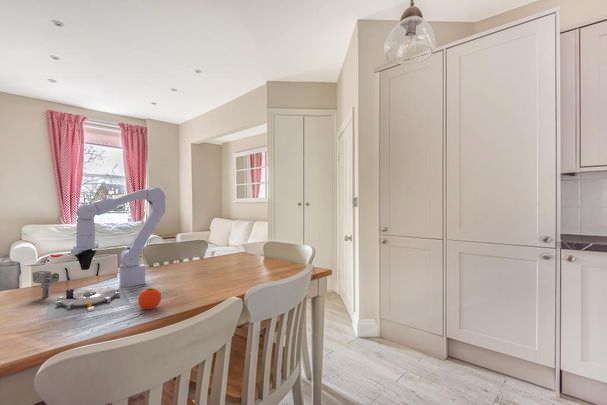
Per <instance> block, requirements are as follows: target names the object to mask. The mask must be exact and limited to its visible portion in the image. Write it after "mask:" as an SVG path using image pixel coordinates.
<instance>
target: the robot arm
mask: <svg viewBox="0 0 607 405" xmlns="http://www.w3.org/2000/svg"><path fill="white" fill-rule="evenodd" d="M166 199H167V198H166V195H165V192H164V191H163V190H162V189H161V187H150V188H147V189H146V188H145V189H139V190H136V191H133V192H130V193H127V194H125V195H124V194H123V195H121V196H119V197H115V198H113V197H111V196H108V197H107V196H103V197H102V199H99V200H96V201H93V202H92V201H89V202H88V204H82V205H80V206H79V207H78V208H76V213H75V214H76V216H77V219H76V222H77V223H76V240H75V241H76V244H75V245H74V246H73V247H72V248H71V249H70V255H73V256H74V257H76V259H77V260H78V263H79V267H80V269H81V270H82V271H87V270H90V268H91V265H92V262H93V258H94V256H95V255H96V254H97V250H95V249H99V248H100V247H99V246H100V244H99V243H98V242H97V243H95V240H96V233H95V232H96V227H95V226H96V223H95V217H96V216H101V215H104V214H106V213H110V212H113V211H116V210H117V208H118V206H121V205H124V204H127V203H131V202H134V201H137V200H142V201H143V200H145V201H147V203H148V204H149V206H150V209H151V212H149V215H148V216H147V217H146V219H145V221H144V223H143V224H142V226H141V227H140V229H139V230H138V232H137V233H136V235H135V236H134V238H133V239H132V241H131V242H130V243H129V244H128V245H127V247H126V248H125V249H123V250H122V251H121V252H120V254H119V260H120V261H121V263H120V264H119V287H122V288H124V287H125V288H126V287H128V288H129V287H133V286H134V287H135V286H139V285H144V284H146V265H145V264H144V263H143V264H140V260H141V255H142V253H143V250H144V247H145V245H146V243H147V242H148V241H149V238H150V237H151V236H152V234H153V232H154V231H155V229H156V228H157V225H158V224H159V222H160V220H162V218H163V216H164V214H165V212H166Z"/></svg>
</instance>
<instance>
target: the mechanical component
mask: <svg viewBox="0 0 607 405" xmlns="http://www.w3.org/2000/svg"><path fill="white" fill-rule="evenodd" d="M31 275H32V282H33V283H34V284H41V285H40V289H42V298H48V297H49V289H50V287H51V285H52V284H55V283H58V282H59V280H60V274H59V273H57V272H52V271H47V270H37V271H34V272H32V274H31Z"/></svg>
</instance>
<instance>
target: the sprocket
mask: <svg viewBox="0 0 607 405" xmlns="http://www.w3.org/2000/svg"><path fill="white" fill-rule="evenodd" d="M112 288H113V287H112ZM112 288H111V287H109V286H105V287H97V288H95V287H94V288H92V287H88V288H87V289H82V290H78V291H75V290H74V288H69V289H66V290H65V295H61V296H62V297H59V296H57V297H58V298H57V302H56V307H59V306H63V307H67V309H71V308H73V307H84V306H87V307H92V305H96V304H100V303H103V302H107V303H108V302H110V301H111V299H113V298H115V297H119V296H120V292H119V288H117V287H115V288H116V289H112Z"/></svg>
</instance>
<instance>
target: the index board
mask: <svg viewBox="0 0 607 405" xmlns="http://www.w3.org/2000/svg"><path fill="white" fill-rule="evenodd" d="M116 288H119V292H120V296H119V297H115V298H113V299H111V301H110V302H108V303H107V302H103V303H100V304H96V305H92V307H87V306H84V307H73V308H71V309H67V307H63V306H59V307H56V302H57V298H58V297H62V296H63V295H59V296H53V297H50V298H49V303H48V307H47V311H46V315H45V318H44V321H48V320H53V319H60V318H63V317H64V318H65V317H69V316H74V315H80V314H85V313H90V312H94V311H95V312H96V311H100V310H101V311H102V310H106V309H112V308H116V307H117V308H118V307H123V306H127V305H131V302H130V300H129V297H128V296H127V295H128V294H126V292H125V290H124V287H122V286H118V287H117V286H116V287H112V289H116Z"/></svg>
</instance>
